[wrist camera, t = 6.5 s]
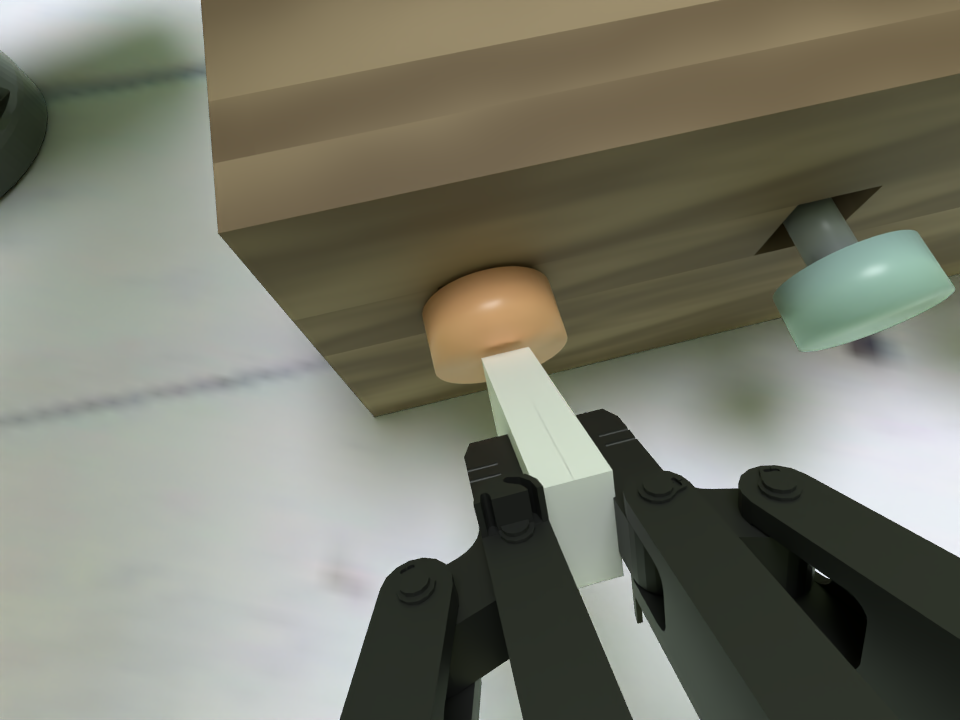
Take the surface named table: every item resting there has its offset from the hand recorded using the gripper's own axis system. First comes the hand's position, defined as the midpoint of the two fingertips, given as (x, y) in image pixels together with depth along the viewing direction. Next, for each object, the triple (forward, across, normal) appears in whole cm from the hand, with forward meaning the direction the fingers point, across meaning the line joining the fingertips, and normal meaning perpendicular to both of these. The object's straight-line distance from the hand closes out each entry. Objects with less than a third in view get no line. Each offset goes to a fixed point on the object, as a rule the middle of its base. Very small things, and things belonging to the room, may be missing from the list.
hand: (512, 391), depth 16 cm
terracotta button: (+4, 0, +1) cm, 5 cm away
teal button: (+3, +12, 0) cm, 12 cm away
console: (+13, +12, -1) cm, 18 cm away
